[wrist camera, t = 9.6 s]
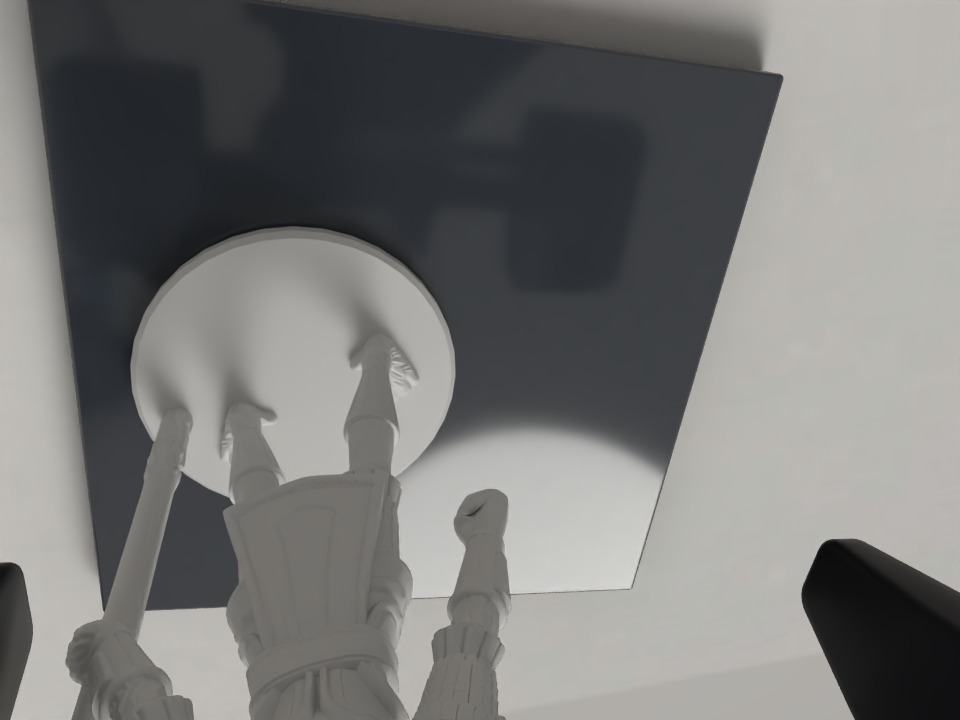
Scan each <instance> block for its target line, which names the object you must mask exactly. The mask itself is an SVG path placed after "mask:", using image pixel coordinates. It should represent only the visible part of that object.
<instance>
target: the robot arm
mask: <svg viewBox="0 0 960 720" xmlns="http://www.w3.org/2000/svg"><path fill="white" fill-rule="evenodd" d="M801 596H802V604H803V607H804V610H805V612H806V615H807V617H808V619H809V621H810V623H811V625H812V628H813V630H814V632H815V634H816V636H817V639H818V641H819V643H820V645H821V647H822V650H823V652H824V654H825V656H826V658H827V660H828V663H829V665H830V667H831V669H832V672H833V674H834V676H835V678H836V680H837V682H838V685H839V687H840V689H841V691H842V693H843V695H844V698H845V700H846V702H847V704H848V707H849V709H850V711H851V713H852V715H853V717H854V719H855V720H960V593H959V592H958V591H956V590H954V589H952V588H950V587H948V586H946V585H944V584H943V583H941V582H939V581H937V580H935V579H933V578H931V577H929V576H927V575H926V574H924V573H922V572H920V571H918V570H916V569H914V568H912V567H911V566H909V565H907V564H905V563H903V562H901V561H899V560H897V559H895V558H894V557H892V556H890V555H888V554H886V553H884V552H882V551H880V550H879V549H877V548H875V547H873V546H871V545H869V544H867V543H865V542H863V541H861V540H858V539H831V540H827V541H825V542H824V543H823V544H822V545H821V546H820V548H819V550H818V552H817V554H816V557H815V559H814V561H813V564H812V566H811V568H810V571H809V573H808V575H807V578H806V580H805V582H804V584H803V587H802V593H801ZM32 636H33V624H32V618H31V613H30V607H29V602H28V596H27V591H26V585H25V580H24V575H23V572H22V570H21V568H20V566H18V565H17V564H15V563H11V562H7V563H0V720H10V719H11V715H12V712H13V708H14V705H15V701H16V698H17V694H18V691H19V687H20V684H21V680H22V677H23V673H24V670H25V666H26V663H27V659H28V656H29V652H30V648H31V643H32Z"/></svg>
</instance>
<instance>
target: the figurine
mask: <svg viewBox="0 0 960 720" xmlns="http://www.w3.org/2000/svg"><path fill="white" fill-rule="evenodd" d="M130 368H131V382H132V392H133V396H134V399H135V403H136V406H137V410H138V413H139V416H140V418H141V420H142V422H143V424H144V426H145V428H146V430H147V431H148V433H149V435H150V437H151V439H152V440H153V441H154V444H153V446H152V450H151V453H150V456H149V458H148V460H147V467H146V470H145V473H144V485H143V489H142V492H141V496H140V499H139V502H138V505H137V509H136V512H135V515H134V518H133V522H132V525H131V528H130V531H129V535H128V538H127V541H126V544H125V548H124V551H123V554H122V557H121V561H120V564H119V567H118V570H117V574H116V577H115V580H114V583H113V587H112V590H111V593H110V596H109V600H108V603H107V606H106V609H105V612H104V616H103V619H101V620H97V621H93V622H90V623H87V624H85V625H83V626H81V627H80V628H78V629H77V630H76V631H75V632H74V637H73V640H72V641H71V642H70V643H69V646H68V652H67V657H66V662H65V663H66V666H67V667H68V668H69V670H70V677H71V678H72V680H73V681H75V682H76V683H78V684H80V685H82V687H81V690H80V693H79V697H78V700H77V703H76V706H75V710H74V713H73V716H72V719H71V720H194V715H193V705H192V701H191V700H190V699H188V698H183V696H180V695H176V696H172V693H173V690H172V684H171V680H170V678H169V677H168V675H167V674H166V673H165V672H164V671H163V670H162V669H160V668H158V667H156V666H155V665H154V663H153V662H152V661H151V660H150V659H149V657H148V656H147V655H146V654H145V653H144V651H143V650H142V649H141V648H140V646H139V645H138V644H137V641H138V637H139V632H140V628H141V624H142V620H143V616H144V612H145V608H146V604H147V600H148V596H149V592H150V588H151V584H152V580H153V575H154V571H155V567H156V563H157V559H158V555H159V551H160V547H161V543H162V539H163V535H164V531H165V527H166V523H167V519H168V515H169V511H170V506H171V502H172V498H173V494H174V491H175V490H176V488H177V486H178V484H179V482H180V477H181V471H182V472H183V473H185V474H186V475H187V476H189V477H190V478H192V479H193V480H195V481H197V482H198V483H200V484H202V485H203V486H205V487H206V488H208V489H210V490H213V491H215V492H217V493H220V494H222V495H224V496H227V497H229V498H230V500H231V502H232V503H233V504H234V505H232V506H230V507H228V508H226V509H225V510H224V511H223V516H224V520H225V523H226V526H227V530H228V533H229V536H230V539H231V542H232V545H233V548H234V551H235V554H236V557H237V560H238V569H239V571H238V574H239V584H238V586H237V587H236V589H235V590H234V592H233V594H232V595H231V597H230V599H229V602H228V605H227V610H226V617H227V621H228V624H229V626H230V628H231V630H232V632H233V634H234V638H235V641H236V643H237V644H238V645H239V648H238V653H239V656H240V659H241V661H242V662H243V664H244V665H245V666H246V667H247V668H248V670H247V672H246V677H247V681H248V687H249V692H250V696H251V701H250V705H249V713H250V717H251V720H410V718H409V716H408V714H407V712H406V710H405V708H404V706H403V704H402V703H401V701H400V700H399V698H398V697H397V695H398V692H399V683H398V676H397V673H398V659H397V656H396V653H395V649H396V646H397V643H398V640H399V637H400V635H401V629H402V625H403V621H404V615H405V611H406V609H407V607H408V605H409V602H410V600H411V596H412V591H413V578H412V574H411V572H410V570H409V568H408V566H407V565H406V564H405V563H404V562H403V561H402V560H401V559H400V545H399V523H398V515H397V510H398V506H399V502H400V498H401V494H402V489H401V487H400V486H401V484H400V482H399V480H398V479H397V478H396V476H397V475H399V474H400V473H402V472H403V471H404V470H405V469H406V468H407V467H408V466H409V465H411V464H412V463H413V462H414V461H415V460H416V459H417V458H418V457H419V456H420V455H421V454H422V453H423V451H424V450H425V449H426V448H427V446H428V445H429V444H430V443H431V441H432V440H433V439H434V437H435V435H436V434H437V432H438V430H439V428H440V426H441V425H442V423H443V421H444V419H445V417H446V414H447V411H448V408H449V405H450V402H451V399H452V395H453V388H454V382H455V352H454V348H453V344H452V340H451V336H450V332H449V328H448V326H447V323H446V321H445V319H444V317H443V315H442V313H441V311H440V308H439V306H438V304H437V302H436V300H435V299H434V298H433V296H432V295H431V294H430V292H429V291H428V289H427V288H426V287H425V285H424V284H423V282H422V281H421V280H420V279H419V278H418V277H417V276H416V275H415V274H414V273H413V272H411V271H410V270H409V269H408V268H407V267H406V266H405V265H404V264H403V263H402V262H400V261H399V260H397V259H396V258H394V257H393V256H391V255H390V254H388V253H387V252H385V251H384V250H382V249H381V248H379V247H377V246H375V245H372V244H370V243H368V242H365V241H363V240H361V239H359V238H356V237H354V236H351V235H347V234H343V233H339V232H335V231H331V230H327V229H321V228H309V227H296V226H290V227H279V228H267V229H260V230H256V231H252V232H249V233H245V234H241V235H237V236H233V237H231V238H229V239H226V240H224V241H222V242H220V243H218V244H215V245H213V246H211V247H209V248H207V249H205V250H203V251H202V252H200V253H199V254H197V255H196V256H195V257H193V258H192V259H190V260H189V261H187V262H186V263H185V264H183V265H182V266H180V267H179V268H178V270H177V271H176V272H175V273H174V274H173V275H172V276H171V277H170V278H169V279H168V280H167V281H166V282H165V283H164V284H163V285H162V286H161V287H160V289H159V290H158V292H157V293H156V295H155V297H154V298H153V300H152V301H151V303H150V304H149V306H148V307H147V309H146V311H145V313H144V315H143V318H142V321H141V323H140V326H139V329H138V331H137V334H136V336H135V339H134V344H133V351H132V358H131V365H130ZM508 509H509V507H508V498H507V496H506V495H505V494H504V493H503V492H501V491H499V490H497V489H484V490H482V491H478V492H475V493H473V494H469V495H468V496H467V497H466V498H465V499H464V500H463V502H462V504H461V505H460V507H459V509H458V511H457V515H456V516H455V518H454V521H453V524H454V529H455V532H456V535H457V537H458V538H459V540H460V541H461V542H462V543H463V544H464V545H465V549H466V551H465V554H464V558H463V561H462V565H461V568H460V572H459V575H458V579H457V582H456V586H455V589H454V593H453V594H452V596H451V597H450V599H449V602H448V606H447V611H448V616H449V618H450V620H451V622H452V623H451V625H449V626H447V627H445V628H443V629H440V630H438V631H437V632H436V633H435V634H434V639H433V640H432V651H433V659H434V665H433V667H432V671H431V673H430V676H429V679H428V680H427V683H426V686H425V690H424V691H423V694H422V698H421V702H420V704H419V706H418V710H417V712H416V713H415V715H414V717H413V719H412V720H506V719H505V717H503V716H498V701H497V699H498V689H497V681H496V672H495V669H496V667H497V665H498V664H499V662H500V660H501V659H502V656H503V655H504V652H505V648H504V646H503V644H502V643H501V642H500V639H499V638H498V637H497V636H498V632H499V631H500V630H501V629H502V628H503V626H504V625H505V623H506V620H507V616H508V614H509V613H510V610H511V596H510V589H509V578H508V567H507V560H506V557H505V555H504V552H505V545H504V541H503V537H504V534H505V530H506V526H507V520H508Z"/></svg>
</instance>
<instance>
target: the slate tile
mask: <svg viewBox="0 0 960 720" xmlns="http://www.w3.org/2000/svg"><path fill="white" fill-rule="evenodd" d="M27 4H28V12H29V20H30V28H31V36H32V44H33V52H34V60H35V68H36V76H37V84H38V92H39V100H40V108H41V116H42V124H43V132H44V140H45V148H46V157H47V165H48V173H49V181H50V189H51V197H52V205H53V213H54V221H55V229H56V237H57V245H58V253H59V261H60V269H61V277H62V285H63V293H64V301H65V309H66V317H67V325H68V333H69V341H70V350H71V358H72V366H73V374H74V382H75V390H76V398H77V406H78V414H79V422H80V430H81V438H82V446H83V454H84V462H85V470H86V478H87V486H88V494H89V502H90V510H91V518H92V526H93V534H94V543H95V551H96V559H97V567H98V575H99V583H100V591H101V599H102V607H103V611H104V612H105V609H106V606H107V603H108V600H109V596H110V593H111V590H112V587H113V583H114V580H115V577H116V574H117V570H118V567H119V564H120V561H121V557H122V554H123V551H124V548H125V544H126V541H127V538H128V535H129V531H130V528H131V525H132V522H133V518H134V515H135V512H136V509H137V505H138V502H139V499H140V496H141V492H142V489H143V485H144V473H145V470H146V467H147V460H148V458H149V456H150V453H151V450H152V446H153V444H154V441H153V440H152V439H151V437H150V435H149V433H148V431H147V430H146V428H145V426H144V424H143V422H142V420H141V418H140V416H139V413H138V410H137V406H136V403H135V399H134V396H133V392H132V382H131V368H130V365H131V358H132V351H133V344H134V339H135V336H136V334H137V331H138V329H139V326H140V323H141V321H142V318H143V315H144V313H145V311H146V309H147V307H148V306H149V304H150V303H151V301H152V300H153V298H154V297H155V295H156V293H157V292H158V290H159V289H160V287H161V286H162V285H163V284H164V283H165V282H166V281H167V280H168V279H169V278H170V277H171V276H172V275H173V274H174V273H175V272H176V271H177V270H178V268H179V267H180V266H182V265H183V264H185V263H186V262H187V261H189V260H190V259H192V258H193V257H195V256H196V255H197V254H199V253H200V252H202V251H203V250H205V249H207V248H209V247H211V246H213V245H215V244H218V243H220V242H222V241H224V240H226V239H229V238H231V237H233V236H237V235H241V234H245V233H249V232H252V231H256V230H260V229H267V228H279V227H290V226H296V227H309V228H321V229H327V230H331V231H335V232H339V233H343V234H347V235H351V236H354V237H356V238H359V239H361V240H363V241H365V242H368V243H370V244H372V245H375V246H377V247H379V248H381V249H382V250H384V251H385V252H387V253H388V254H390V255H391V256H393V257H394V258H396V259H397V260H399V261H400V262H402V263H403V264H404V265H405V266H406V267H407V268H408V269H409V270H410V271H411V272H413V273H414V274H415V275H416V276H417V277H418V278H419V279H420V280H421V281H422V282H423V284H424V285H425V287H426V288H427V289H428V291H429V292H430V294H431V295H432V296H433V298H434V299H435V300H436V302H437V304H438V306H439V308H440V311H441V313H442V315H443V317H444V319H445V321H446V323H447V326H448V328H449V332H450V336H451V340H452V344H453V348H454V352H455V382H454V388H453V395H452V399H451V402H450V405H449V408H448V411H447V414H446V417H445V419H444V421H443V423H442V425H441V426H440V428H439V430H438V432H437V434H436V435H435V437H434V439H433V440H432V441H431V443H430V444H429V445H428V446H427V448H426V449H425V450H424V451H423V453H422V454H421V455H420V456H419V457H418V458H417V459H416V460H415V461H414V462H413V463H412V464H411V465H409V466H408V467H407V468H406V469H405V470H404V471H403V472H402V473H400V474H399V475H397V476H396V478H397V479H398V480H399V482H400V484H401V486H400V487H401V489H402V494H401V498H400V502H399V506H398V510H397V515H398V523H399V545H400V559H401V560H402V561H403V562H404V563H405V564H406V565H407V566H408V568H409V570H410V572H411V574H412V578H413V591H412V596H411V599H424V598H447V597H451V596H452V594H453V593H454V589H455V586H456V582H457V579H458V575H459V572H460V568H461V565H462V561H463V558H464V554H465V551H466V549H465V545H464V544H463V543H462V542H461V541H460V540H459V538H458V537H457V535H456V532H455V529H454V524H453V521H454V518H455V516H456V515H457V511H458V509H459V507H460V505H461V504H462V502H463V500H464V499H465V498H466V497H467V496H468V495H469V494H473V493H475V492H478V491H482V490H484V489H497V490H499V491H501V492H503V493H504V494H505V495H506V496H507V498H508V507H509V509H508V520H507V526H506V530H505V534H504V537H503V541H504V545H505V552H504V555H505V557H506V560H507V567H508V578H509V589H510V595H515V594H538V593H560V592H583V591H606V590H629V589H632V587H633V583H634V580H635V577H636V573H637V570H638V567H639V563H640V560H641V557H642V553H643V550H644V546H645V543H646V540H647V536H648V533H649V530H650V526H651V523H652V520H653V516H654V513H655V509H656V506H657V503H658V499H659V496H660V493H661V489H662V486H663V483H664V479H665V476H666V472H667V469H668V466H669V462H670V459H671V456H672V452H673V449H674V446H675V442H676V439H677V435H678V432H679V429H680V425H681V422H682V419H683V415H684V412H685V409H686V405H687V402H688V398H689V395H690V392H691V388H692V385H693V382H694V378H695V375H696V372H697V368H698V365H699V361H700V358H701V355H702V351H703V348H704V345H705V341H706V338H707V334H708V331H709V328H710V324H711V321H712V318H713V314H714V311H715V308H716V304H717V301H718V297H719V294H720V291H721V287H722V284H723V281H724V277H725V274H726V271H727V267H728V264H729V260H730V257H731V254H732V250H733V247H734V244H735V240H736V237H737V234H738V230H739V227H740V223H741V220H742V217H743V213H744V210H745V207H746V203H747V200H748V197H749V193H750V190H751V186H752V183H753V180H754V176H755V173H756V170H757V166H758V163H759V160H760V156H761V153H762V149H763V146H764V143H765V139H766V136H767V133H768V129H769V126H770V123H771V119H772V116H773V112H774V109H775V106H776V102H777V99H778V96H779V92H780V89H781V86H782V82H783V76H782V75H781V74H778V73H772V72H767V71H760V70H753V69H747V68H740V67H733V66H726V65H719V64H712V63H705V62H698V61H691V60H684V59H677V58H670V57H663V56H656V55H649V54H642V53H635V52H628V51H622V50H615V49H608V48H601V47H594V46H587V45H580V44H573V43H566V42H559V41H552V40H545V39H538V38H531V37H524V36H517V35H510V34H504V33H497V32H490V31H483V30H476V29H469V28H462V27H455V26H448V25H441V24H434V23H427V22H420V21H413V20H406V19H399V18H392V17H386V16H379V15H372V14H365V13H358V12H351V11H344V10H337V9H330V8H323V7H316V6H309V5H302V4H295V3H288V2H281V1H274V0H27ZM232 505H234V504H233V503H232V502H231V500H230V498H229V497H227V496H224V495H222V494H220V493H217V492H215V491H213V490H210V489H208V488H206V487H205V486H203V485H202V484H200V483H198V482H197V481H195V480H193V479H192V478H190V477H189V476H187V475H186V474H185V473H183V472H182V471H181V477H180V482H179V484H178V486H177V488H176V490H175V491H174V494H173V498H172V502H171V506H170V511H169V515H168V519H167V523H166V527H165V531H164V535H163V539H162V543H161V547H160V551H159V555H158V559H157V563H156V567H155V571H154V575H153V580H152V584H151V588H150V592H149V596H148V600H147V604H146V608H145V611H152V610H174V609H197V608H220V607H227V605H228V602H229V599H230V597H231V595H232V594H233V592H234V590H235V589H236V587H237V586H238V584H239V574H238V571H239V569H238V560H237V557H236V554H235V551H234V548H233V545H232V542H231V539H230V536H229V533H228V530H227V526H226V523H225V520H224V516H223V511H224V510H225V509H226V508H228V507H230V506H232Z"/></svg>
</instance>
